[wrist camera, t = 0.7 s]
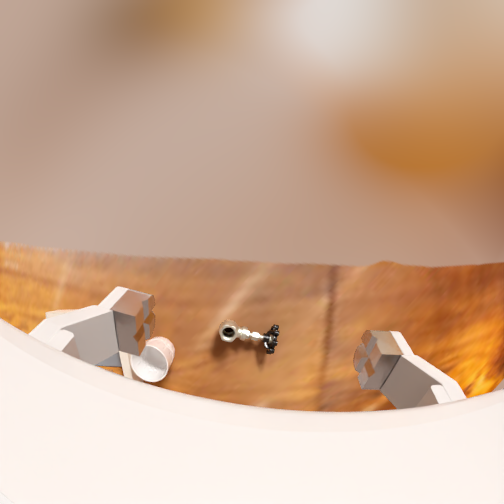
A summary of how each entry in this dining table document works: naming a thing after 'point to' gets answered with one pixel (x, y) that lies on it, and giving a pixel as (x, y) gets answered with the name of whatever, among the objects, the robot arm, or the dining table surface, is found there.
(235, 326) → the valve
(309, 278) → the dining table surface
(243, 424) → the robot arm
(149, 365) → the white cup
